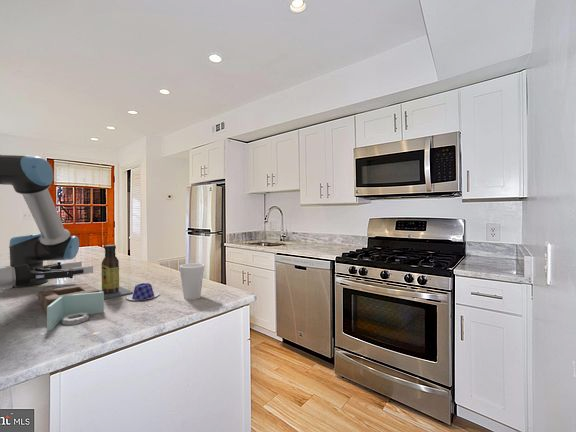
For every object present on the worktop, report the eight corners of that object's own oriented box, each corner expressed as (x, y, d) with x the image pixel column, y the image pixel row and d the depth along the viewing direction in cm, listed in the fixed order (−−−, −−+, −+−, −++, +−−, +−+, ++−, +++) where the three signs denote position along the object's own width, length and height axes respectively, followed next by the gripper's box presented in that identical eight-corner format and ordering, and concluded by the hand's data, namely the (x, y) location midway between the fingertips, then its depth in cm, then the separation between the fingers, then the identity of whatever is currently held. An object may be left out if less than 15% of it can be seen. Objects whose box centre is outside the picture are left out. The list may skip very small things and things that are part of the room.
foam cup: (196, 301, 109) (196, 268, 109) (175, 300, 111) (174, 267, 111) (208, 294, 119) (208, 263, 118) (188, 293, 121) (188, 262, 120)
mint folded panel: (47, 332, 84) (46, 306, 84) (61, 317, 95) (61, 295, 95) (95, 326, 88) (95, 302, 88) (103, 313, 99) (103, 291, 99)
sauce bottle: (101, 291, 121) (100, 244, 120) (118, 289, 124) (117, 243, 124) (102, 295, 115) (101, 246, 115) (120, 292, 119) (119, 245, 119)
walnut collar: (38, 305, 105) (38, 291, 105) (86, 295, 117) (86, 283, 117) (48, 314, 96) (48, 300, 96) (99, 303, 107) (99, 290, 107)
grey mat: (88, 293, 120) (88, 292, 120) (119, 287, 129) (119, 286, 129) (100, 300, 111) (100, 298, 111) (132, 293, 120) (132, 291, 120)
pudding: (134, 293, 121) (134, 281, 121) (163, 292, 122) (163, 280, 122) (120, 302, 109) (120, 289, 109) (152, 301, 110) (152, 288, 110)
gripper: (7, 281, 104) (77, 271, 121) (20, 294, 89) (98, 281, 105) (7, 261, 104) (76, 254, 121) (19, 270, 89) (98, 261, 105)
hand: (87, 266), depth 113 cm, fingers open, 13 cm apart
